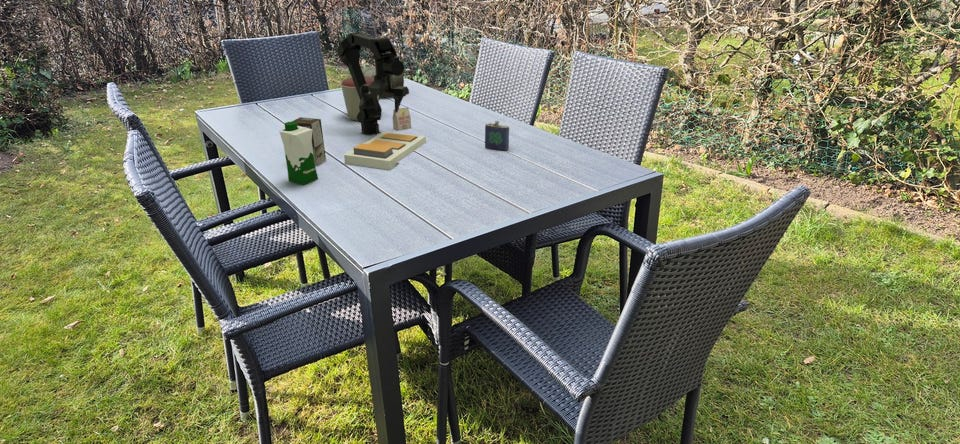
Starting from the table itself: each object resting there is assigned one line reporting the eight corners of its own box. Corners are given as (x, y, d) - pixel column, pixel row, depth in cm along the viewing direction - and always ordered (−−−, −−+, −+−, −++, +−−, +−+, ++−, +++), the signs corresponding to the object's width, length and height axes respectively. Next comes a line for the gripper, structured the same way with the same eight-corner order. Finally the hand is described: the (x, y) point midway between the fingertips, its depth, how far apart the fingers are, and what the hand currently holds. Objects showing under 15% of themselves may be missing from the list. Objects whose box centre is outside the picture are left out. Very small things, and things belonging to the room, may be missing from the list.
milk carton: (304, 173, 205) (295, 118, 196) (322, 178, 201) (314, 122, 192) (284, 181, 198) (275, 125, 190) (303, 187, 194) (294, 129, 185)
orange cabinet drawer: (381, 143, 231) (380, 136, 230) (388, 139, 236) (387, 132, 235) (410, 147, 227) (410, 140, 226) (416, 142, 232) (416, 136, 231)
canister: (391, 116, 270) (387, 70, 260) (364, 126, 256) (360, 78, 246) (362, 110, 278) (358, 66, 269) (335, 119, 265) (329, 73, 255)
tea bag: (393, 131, 249) (391, 108, 245) (407, 128, 253) (406, 106, 248) (397, 133, 247) (395, 110, 242) (411, 130, 250) (410, 108, 245)
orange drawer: (368, 150, 223) (367, 144, 222) (376, 146, 228) (375, 139, 226) (398, 154, 219) (397, 148, 217) (405, 150, 223) (405, 143, 222)
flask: (509, 149, 228) (510, 121, 223) (507, 151, 225) (507, 123, 220) (486, 146, 231) (486, 118, 226) (483, 148, 229) (483, 120, 224)
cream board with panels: (335, 162, 215) (334, 153, 214) (376, 138, 240) (375, 130, 239) (390, 169, 208) (389, 161, 207) (426, 144, 233) (425, 136, 232)
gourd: (348, 94, 295) (350, 59, 290) (365, 91, 319) (367, 58, 314) (394, 101, 293) (397, 66, 287) (408, 97, 316) (411, 65, 311)
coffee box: (327, 160, 217) (321, 118, 210) (317, 166, 212) (311, 123, 204) (306, 157, 220) (300, 116, 212) (296, 163, 214) (289, 121, 207)
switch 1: (354, 154, 214) (353, 147, 212) (362, 149, 218) (361, 142, 217) (385, 158, 209) (384, 151, 208) (392, 153, 214) (392, 146, 213)
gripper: (351, 74, 219) (355, 114, 226) (394, 78, 213) (397, 119, 220) (366, 68, 228) (369, 107, 235) (408, 71, 222) (410, 111, 229)
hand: (386, 111), depth 230 cm, fingers open, 9 cm apart
